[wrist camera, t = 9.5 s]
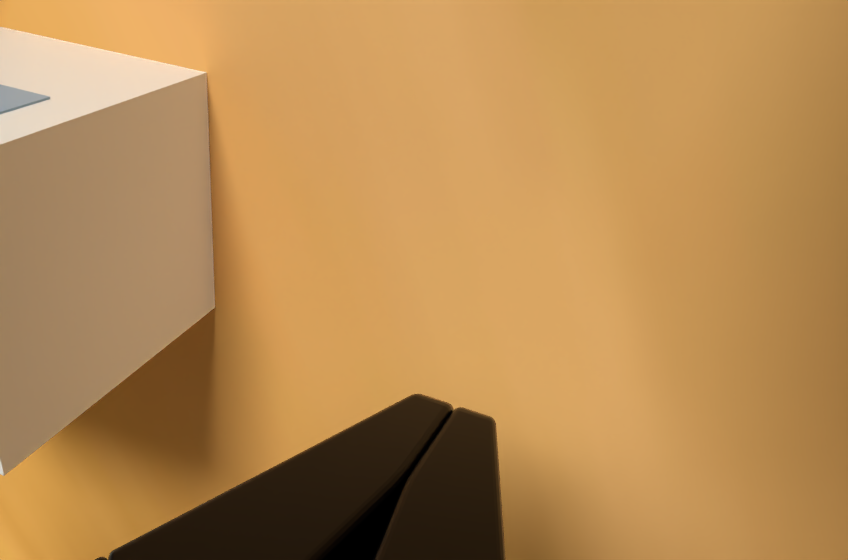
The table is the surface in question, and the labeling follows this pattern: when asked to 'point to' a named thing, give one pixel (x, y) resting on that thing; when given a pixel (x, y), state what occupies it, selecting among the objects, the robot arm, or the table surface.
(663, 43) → the table surface
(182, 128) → the block
